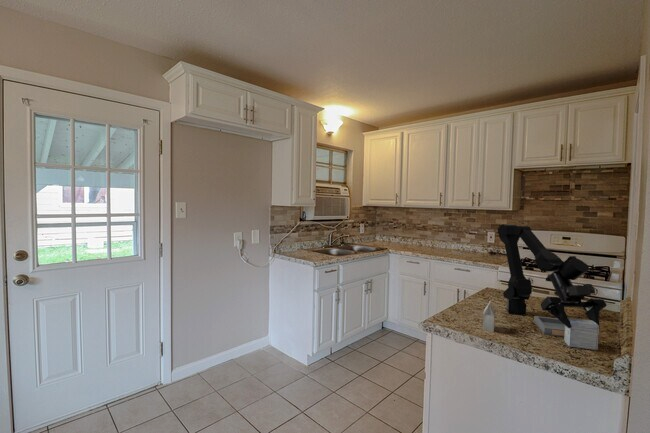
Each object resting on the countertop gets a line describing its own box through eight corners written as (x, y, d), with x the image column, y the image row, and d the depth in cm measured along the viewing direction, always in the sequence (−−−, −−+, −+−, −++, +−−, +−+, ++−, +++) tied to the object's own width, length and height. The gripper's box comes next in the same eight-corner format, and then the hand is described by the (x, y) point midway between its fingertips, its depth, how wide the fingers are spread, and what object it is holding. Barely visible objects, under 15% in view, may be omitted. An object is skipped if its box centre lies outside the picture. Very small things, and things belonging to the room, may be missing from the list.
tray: (544, 334, 116) (544, 328, 115) (533, 321, 128) (534, 315, 128) (580, 339, 112) (581, 332, 112) (566, 325, 124) (566, 319, 124)
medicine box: (591, 345, 107) (592, 320, 107) (597, 351, 103) (599, 324, 103) (563, 341, 110) (565, 317, 110) (569, 347, 106) (570, 321, 105)
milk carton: (482, 330, 119) (483, 304, 119) (483, 324, 125) (484, 299, 124) (493, 332, 117) (494, 305, 117) (494, 326, 123) (495, 301, 123)
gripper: (547, 273, 110) (567, 316, 100) (604, 275, 109) (630, 319, 98) (533, 289, 118) (550, 330, 108) (586, 291, 117) (608, 333, 106)
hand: (584, 328), depth 105 cm, fingers closed on medicine box, 8 cm apart
